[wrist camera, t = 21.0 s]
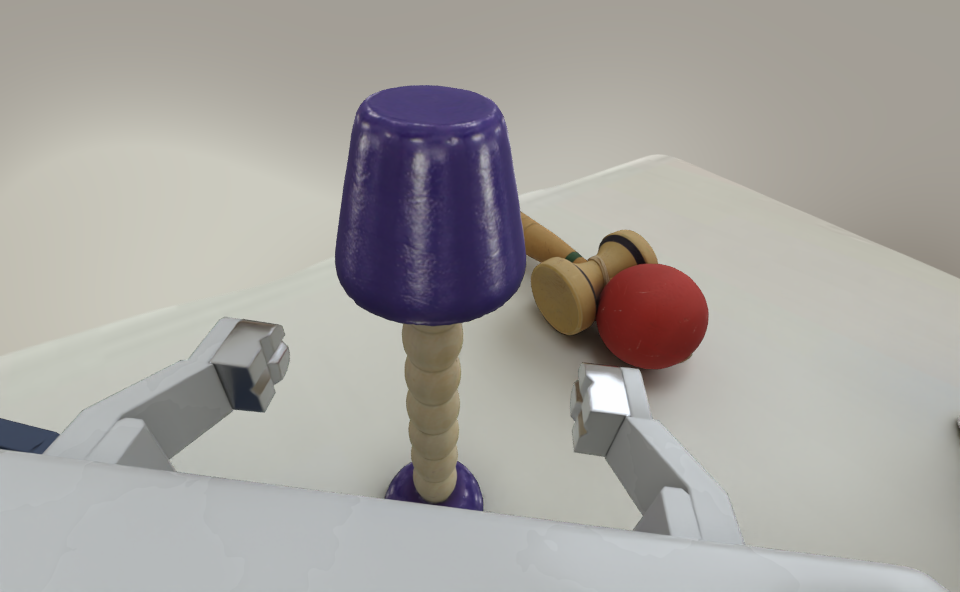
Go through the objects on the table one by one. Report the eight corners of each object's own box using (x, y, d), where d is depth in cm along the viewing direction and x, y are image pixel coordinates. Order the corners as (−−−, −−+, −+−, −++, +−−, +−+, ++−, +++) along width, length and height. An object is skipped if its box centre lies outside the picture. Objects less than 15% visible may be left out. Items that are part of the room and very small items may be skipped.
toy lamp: (366, 568, 17) (291, 142, 7) (372, 457, 21) (330, 62, 10) (489, 556, 18) (595, 155, 8) (475, 451, 22) (534, 76, 11)
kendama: (446, 263, 35) (631, 408, 23) (458, 182, 32) (676, 299, 20) (521, 254, 40) (710, 371, 27) (537, 182, 37) (756, 278, 25)
